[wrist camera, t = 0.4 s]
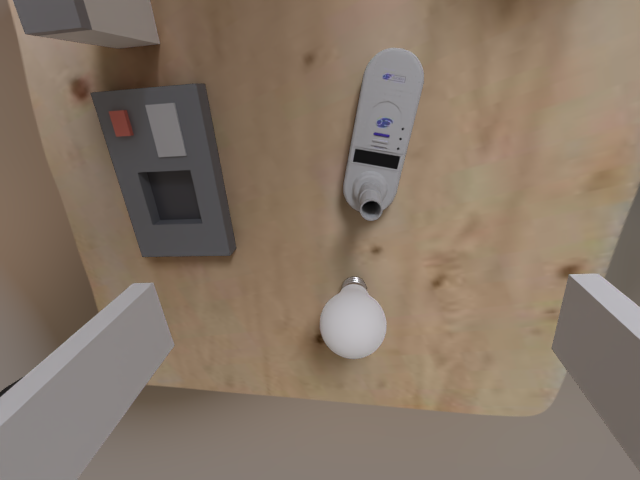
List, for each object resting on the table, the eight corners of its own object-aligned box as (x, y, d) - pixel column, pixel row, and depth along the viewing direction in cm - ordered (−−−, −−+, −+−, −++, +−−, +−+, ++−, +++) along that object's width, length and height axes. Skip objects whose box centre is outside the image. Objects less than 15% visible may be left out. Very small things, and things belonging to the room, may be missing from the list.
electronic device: (452, 38, 22) (396, 246, 28) (426, 56, 31) (388, 211, 37) (370, 25, 22) (332, 234, 28) (368, 47, 31) (340, 202, 37)
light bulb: (364, 249, 39) (365, 305, 29) (392, 293, 41) (401, 359, 31) (316, 274, 41) (301, 334, 31) (345, 314, 43) (339, 383, 33)
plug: (102, -7, 31) (-4, -45, 22) (147, -13, 31) (56, -55, 22) (117, 48, 33) (25, 34, 24) (160, 44, 33) (81, 27, 24)
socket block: (104, 92, 35) (86, 92, 33) (205, 83, 34) (193, 83, 31) (151, 249, 42) (139, 258, 40) (236, 248, 41) (228, 257, 38)
